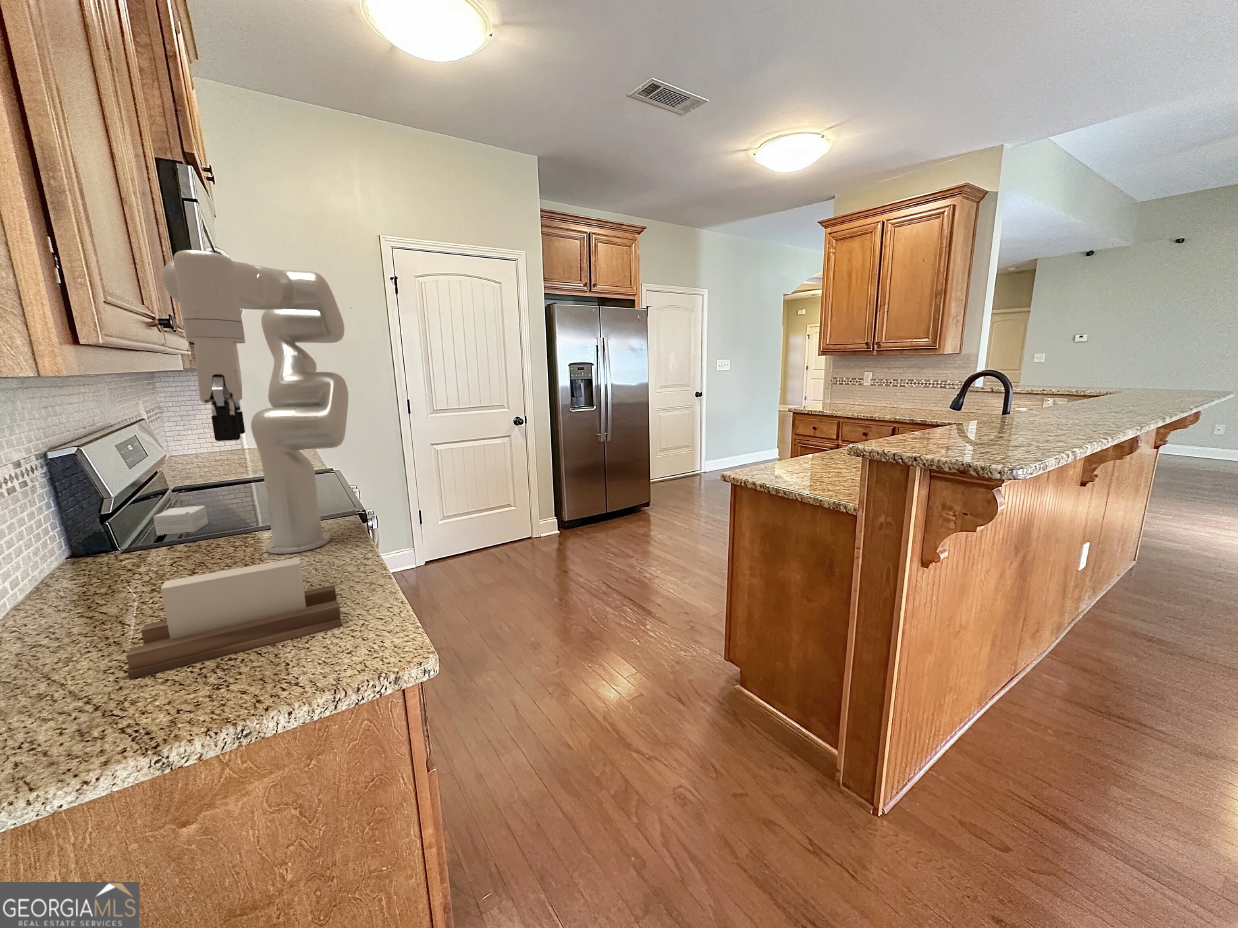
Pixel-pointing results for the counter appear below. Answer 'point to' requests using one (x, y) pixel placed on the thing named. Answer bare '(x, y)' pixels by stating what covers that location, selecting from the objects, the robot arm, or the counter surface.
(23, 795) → the counter surface
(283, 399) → the robot arm
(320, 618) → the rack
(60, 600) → the counter surface
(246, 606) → the white rectangular slab
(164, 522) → the small box
